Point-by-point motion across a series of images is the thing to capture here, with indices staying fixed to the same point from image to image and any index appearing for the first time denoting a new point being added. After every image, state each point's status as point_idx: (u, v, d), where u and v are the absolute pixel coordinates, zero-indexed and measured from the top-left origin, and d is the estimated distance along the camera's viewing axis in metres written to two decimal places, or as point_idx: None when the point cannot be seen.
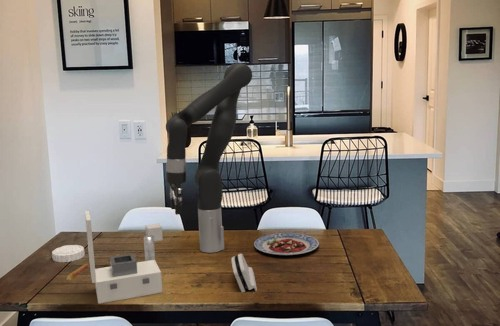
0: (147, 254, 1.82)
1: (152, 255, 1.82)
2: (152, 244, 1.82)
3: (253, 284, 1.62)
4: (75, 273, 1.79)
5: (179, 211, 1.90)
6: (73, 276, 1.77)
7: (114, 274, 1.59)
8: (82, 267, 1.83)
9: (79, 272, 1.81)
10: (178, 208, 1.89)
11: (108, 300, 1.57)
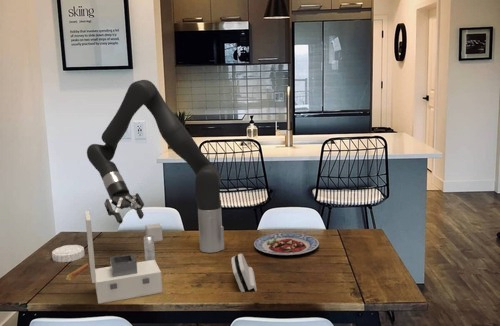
0: (147, 254, 1.82)
1: (152, 255, 1.82)
2: (152, 244, 1.82)
3: (253, 284, 1.62)
4: (75, 273, 1.79)
5: (117, 219, 1.87)
6: (73, 276, 1.77)
7: (114, 274, 1.59)
8: (82, 267, 1.83)
9: (78, 272, 1.81)
10: (116, 217, 1.88)
11: (108, 300, 1.57)
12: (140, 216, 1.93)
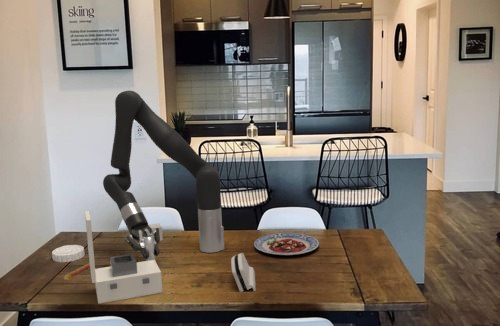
0: None
1: (152, 255, 1.82)
2: (152, 244, 1.82)
3: (251, 284, 1.63)
4: (74, 273, 1.79)
5: (144, 255, 1.80)
6: (71, 276, 1.77)
7: (114, 274, 1.59)
8: (82, 267, 1.83)
9: (78, 273, 1.81)
10: (142, 253, 1.81)
11: (108, 300, 1.57)
12: (156, 253, 1.83)
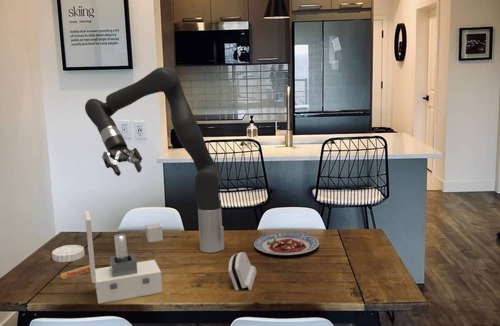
0: (119, 255, 1.61)
1: (125, 256, 1.62)
2: (124, 244, 1.61)
3: (247, 283, 1.63)
4: (71, 273, 1.79)
5: (115, 171, 1.86)
6: (67, 275, 1.78)
7: (114, 274, 1.59)
8: (83, 268, 1.83)
9: (76, 273, 1.81)
10: (114, 169, 1.87)
11: (108, 300, 1.57)
12: (138, 169, 1.92)
